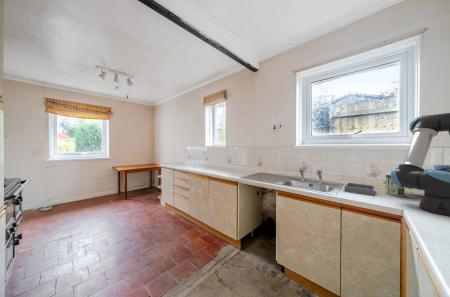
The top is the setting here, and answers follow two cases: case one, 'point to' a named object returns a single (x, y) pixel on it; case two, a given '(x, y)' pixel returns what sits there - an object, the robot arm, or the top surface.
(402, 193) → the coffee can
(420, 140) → the robot arm
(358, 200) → the top surface
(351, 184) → the tray
